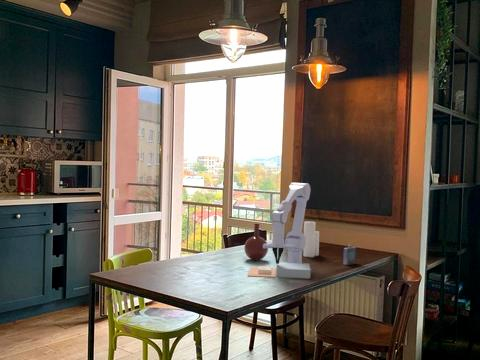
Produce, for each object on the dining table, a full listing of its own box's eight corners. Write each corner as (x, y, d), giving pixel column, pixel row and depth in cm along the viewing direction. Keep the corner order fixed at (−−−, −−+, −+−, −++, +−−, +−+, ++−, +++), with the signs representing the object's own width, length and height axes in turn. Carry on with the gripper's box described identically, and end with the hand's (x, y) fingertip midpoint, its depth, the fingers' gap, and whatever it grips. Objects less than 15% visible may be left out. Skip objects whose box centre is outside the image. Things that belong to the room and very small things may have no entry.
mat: (250, 268, 245) (250, 267, 245) (275, 269, 244) (275, 268, 244) (247, 276, 227) (247, 275, 227) (275, 277, 226) (275, 276, 226)
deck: (276, 269, 242) (277, 262, 242) (308, 271, 241) (309, 263, 241) (276, 276, 227) (276, 268, 227) (310, 278, 226) (310, 270, 226)
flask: (345, 265, 258) (346, 245, 258) (341, 264, 260) (342, 244, 260) (356, 263, 264) (357, 244, 264) (352, 262, 266) (352, 243, 266)
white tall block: (311, 257, 277) (312, 223, 276) (300, 256, 281) (301, 222, 280) (319, 254, 287) (321, 221, 286) (308, 253, 291) (310, 220, 290)
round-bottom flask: (252, 256, 275) (253, 222, 274) (272, 259, 268) (273, 224, 267) (239, 260, 264) (240, 224, 263) (259, 263, 257) (260, 226, 256)
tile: (271, 266, 239) (270, 270, 239) (258, 265, 239) (258, 269, 239) (270, 270, 231) (270, 274, 231) (258, 269, 231) (257, 273, 232)
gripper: (263, 236, 231) (262, 264, 231) (293, 237, 230) (292, 265, 230) (263, 234, 238) (262, 261, 238) (293, 235, 237) (292, 262, 237)
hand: (277, 263), depth 235 cm, fingers closed
